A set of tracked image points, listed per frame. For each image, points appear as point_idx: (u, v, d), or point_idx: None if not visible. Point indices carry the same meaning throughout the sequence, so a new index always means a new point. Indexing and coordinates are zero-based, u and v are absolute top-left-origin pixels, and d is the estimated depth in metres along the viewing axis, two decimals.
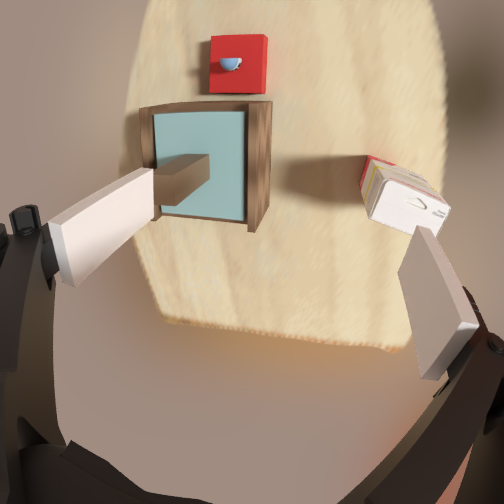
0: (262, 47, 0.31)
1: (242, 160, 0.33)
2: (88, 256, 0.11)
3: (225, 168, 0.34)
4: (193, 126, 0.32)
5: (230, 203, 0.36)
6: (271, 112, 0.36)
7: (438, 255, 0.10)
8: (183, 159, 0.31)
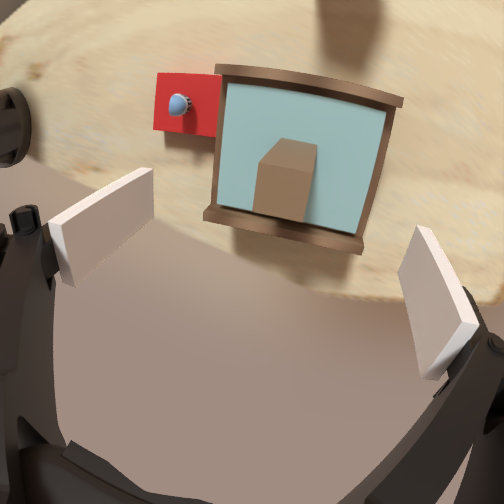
0: (172, 73, 0.28)
1: (295, 93, 0.21)
2: (88, 256, 0.11)
3: (304, 118, 0.22)
4: (240, 151, 0.25)
5: (358, 124, 0.21)
6: None
7: (438, 255, 0.10)
8: None
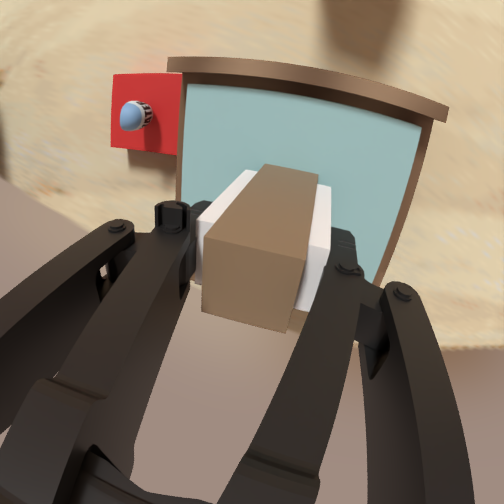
0: (130, 75, 0.20)
1: (285, 95, 0.14)
2: None
3: (299, 135, 0.15)
4: (206, 183, 0.18)
5: (380, 144, 0.14)
6: None
7: (321, 203, 0.13)
8: None
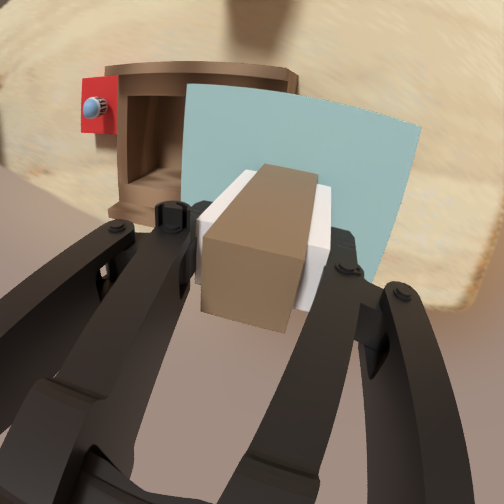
0: (93, 78, 0.26)
1: (284, 95, 0.14)
2: None
3: (299, 135, 0.15)
4: (206, 183, 0.18)
5: (379, 144, 0.14)
6: None
7: (321, 203, 0.13)
8: None
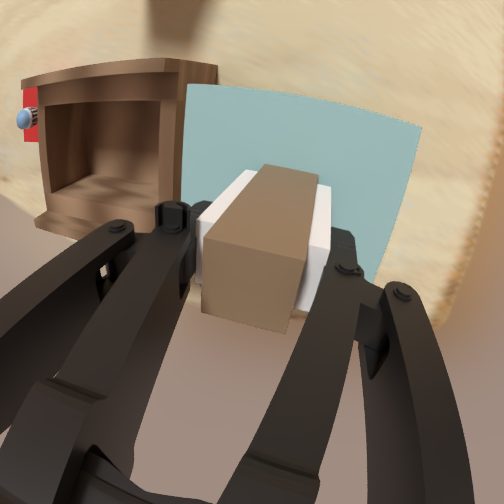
0: (31, 88, 0.23)
1: (285, 96, 0.14)
2: None
3: (299, 135, 0.15)
4: (206, 183, 0.18)
5: (380, 144, 0.14)
6: None
7: (321, 203, 0.13)
8: None
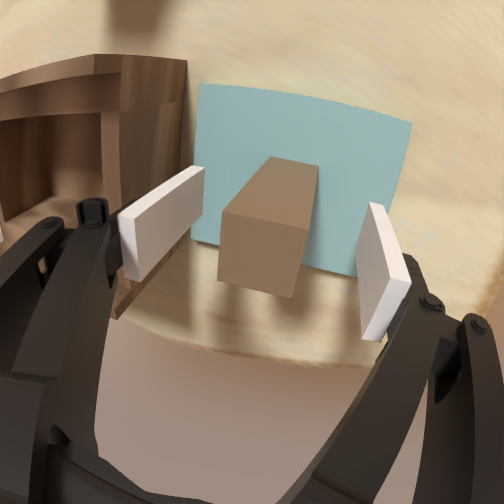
0: None
1: (288, 95, 0.16)
2: (152, 251, 0.12)
3: (301, 130, 0.17)
4: (216, 174, 0.19)
5: (374, 138, 0.16)
6: None
7: (383, 225, 0.12)
8: None
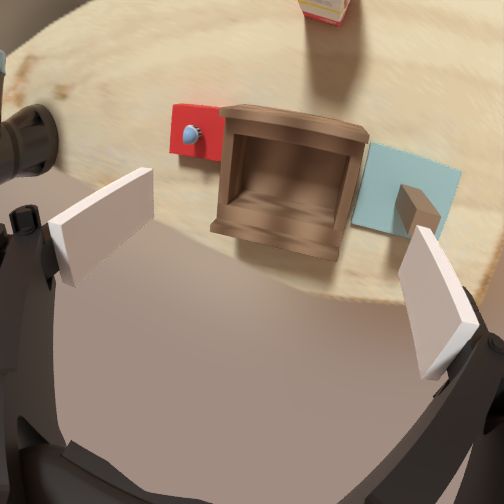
0: (185, 106, 0.35)
1: (412, 155, 0.32)
2: (88, 256, 0.11)
3: (416, 172, 0.33)
4: (373, 190, 0.36)
5: (445, 178, 0.32)
6: None
7: (438, 255, 0.10)
8: (400, 204, 0.33)
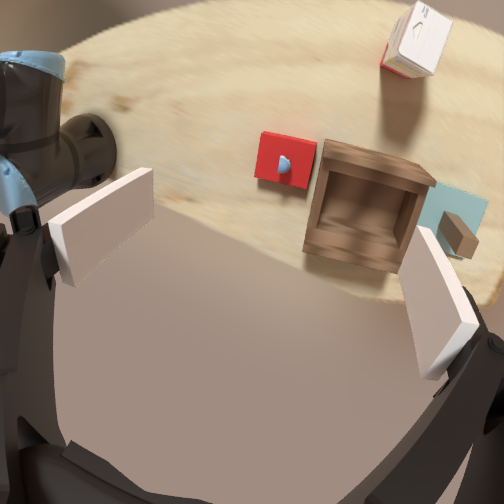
0: (273, 136, 0.41)
1: (454, 189, 0.39)
2: (88, 256, 0.11)
3: (455, 202, 0.40)
4: (423, 215, 0.42)
5: (476, 206, 0.39)
6: (335, 141, 0.41)
7: (438, 255, 0.10)
8: (445, 228, 0.39)
